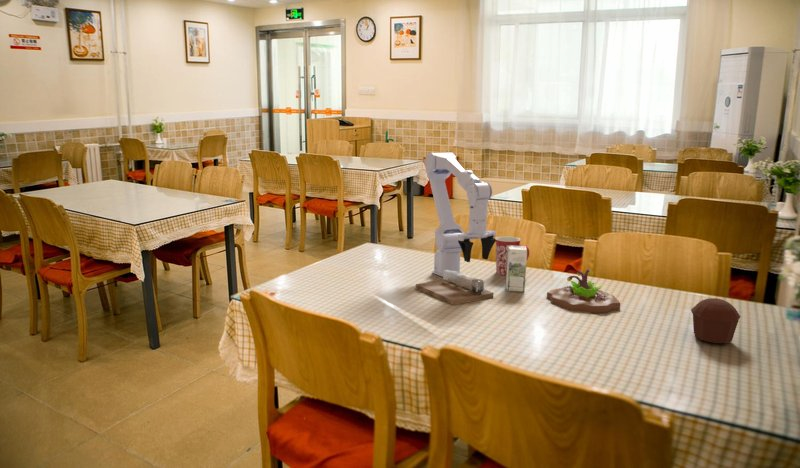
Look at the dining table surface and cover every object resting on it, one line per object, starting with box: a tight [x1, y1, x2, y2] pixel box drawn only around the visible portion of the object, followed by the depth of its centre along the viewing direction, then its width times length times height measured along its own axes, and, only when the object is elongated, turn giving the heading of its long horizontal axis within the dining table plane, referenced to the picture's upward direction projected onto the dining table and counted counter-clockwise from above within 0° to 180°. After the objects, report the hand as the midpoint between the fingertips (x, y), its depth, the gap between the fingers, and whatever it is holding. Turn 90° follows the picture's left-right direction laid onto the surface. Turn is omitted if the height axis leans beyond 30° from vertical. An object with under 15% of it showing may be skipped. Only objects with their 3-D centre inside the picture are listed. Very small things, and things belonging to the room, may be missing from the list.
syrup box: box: [505, 245, 528, 293], centre depth 191 cm, size 6×6×14 cm
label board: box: [415, 279, 494, 306], centre depth 187 cm, size 20×16×2 cm
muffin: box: [690, 297, 741, 344], centre depth 151 cm, size 12×11×10 cm
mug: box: [494, 236, 530, 277], centre depth 208 cm, size 13×9×14 cm
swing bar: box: [442, 269, 485, 292], centre depth 187 cm, size 18×4×3 cm, turn 32°
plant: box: [546, 268, 621, 314], centre depth 179 cm, size 20×20×11 cm
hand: (476, 260), depth 192 cm, fingers open, 7 cm apart
